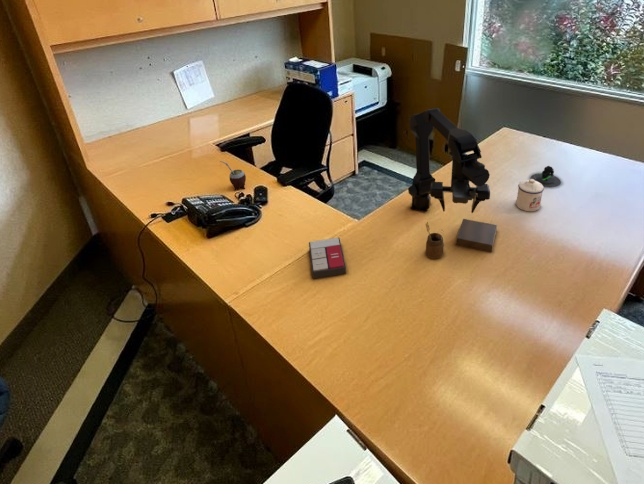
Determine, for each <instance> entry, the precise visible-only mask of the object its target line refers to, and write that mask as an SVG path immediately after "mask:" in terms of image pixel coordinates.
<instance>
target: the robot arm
mask: <svg viewBox="0 0 644 484" xmlns="http://www.w3.org/2000/svg"><path fill="white" fill-rule="evenodd" d="M408 123H409V127H410V131H411V133H412V134H413V135H414V138H415V139H414V140H415V141H414V142H415V162H416V163H415V164H416V165H415V166H416V167H415V168H416V172H415V174H414V175H413V177H412V185H410V186H409V187H408V188H407V191H408V194H409V195H410V197H411V206H410V210H414V211H417V212H423V213H424V212H425V213H427V211H428V209H429V208H430V206H431V202H432V201H431V198H434V199H435V200H438V201H439V204H440V206H441V209H442V212H445V210H446V202H445V193H447V194H449V193H450V194H452V195H451V196H452V200H451V201H452V203H453V204H462V205H463V204H464V205H466V204H468V203H469V201H472V203H471V209H470V210H471V214H473V213H474V212H475V210H476V208H477V207H478V205H479V204H480V203H481V202H485V201H486V200H487V201H488V200H490V199H491V189H490V185H489V184H488V181H489V179H490V176H491V174H490V172H489V170H488V169H487V168H486V165H485V164H484V163H483V162H480V161H478V160H479V159H482V157H483V156H482V154H481V152H482V151H481V149H480V147H479V144H478V140H477V138H476V137H475V135H474V134H473V133H472V132H470V131H468V130H466V129H462V128H459V127H457V125H455V124H454V123H453V122H452V121H451V120H450V119H449V118H448V117H447V116H446V115H444V114H443V113H442V111H441V109H440V108H437V107H433V108H429V109H425V110H424V111H422V112H419V113H414V114H412V115H411V116H410V117H409V120H408ZM434 129H436V131H438V132H439V134H440V135H441V136H442V137H443V138H445V140H446V141H447V147H448V149H449V152H448V155H449V156H451V157H452V160H451V161H452V162H451V179H450V186H449V185H444V182H443V181H436V178H435V177H434V176H433V175H432V174H431V171H430V170H431V169H430V168H431V167H430V165H431V164H430V136H431V134H432V133H433V131H434ZM470 152H472V153H470ZM470 183H472V184H473V185H474V186H475V187H473V186H471V185H470Z"/></svg>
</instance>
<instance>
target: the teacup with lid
mask: <svg viewBox="0 0 644 484" xmlns="http://www.w3.org/2000/svg"><path fill="white" fill-rule="evenodd" d="M544 191H545V187H543V185H542V184H541V183H539V182H537V181H535V180H534V179H530V178H529V179H523V180H521V181H519V183H518V185H517V195H516V200H515V205H516V207H517V208H518V209H520V210H523V211H525V212H535V211H538V210H539V209H540V207H541V204H542V203H541V202H542V198H543V192H544Z"/></svg>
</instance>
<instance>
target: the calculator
mask: <svg viewBox="0 0 644 484" xmlns="http://www.w3.org/2000/svg"><path fill="white" fill-rule="evenodd" d="M308 248H309V258H310V265H311V274H312V279H314V280H316V279H322V278H328V277H333V276H341V275H346V274H347V266H346V262H345V257H344V252H343V249H342V248H343V247H342V243H341V238H340V237H334V238H326V239H321V240H313V241H309V242H308Z"/></svg>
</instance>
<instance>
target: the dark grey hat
mask: <svg viewBox="0 0 644 484" xmlns="http://www.w3.org/2000/svg"><path fill="white" fill-rule="evenodd" d="M554 173H555V170H554V168H553V167H552V166H550V165H547V166H545V167H544V168H543V170H542V172H540V173H539V172H538V173H534V174H532V175H531V176H530V177H529V180H530V179H534V180H535V181H537V182H539V183H541V184H542V185H543V187H544V188H557V187H559V186H560V185H561V184H562V181H561V179H560V178H559V177H558V176H556V175H555V174H554Z"/></svg>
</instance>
